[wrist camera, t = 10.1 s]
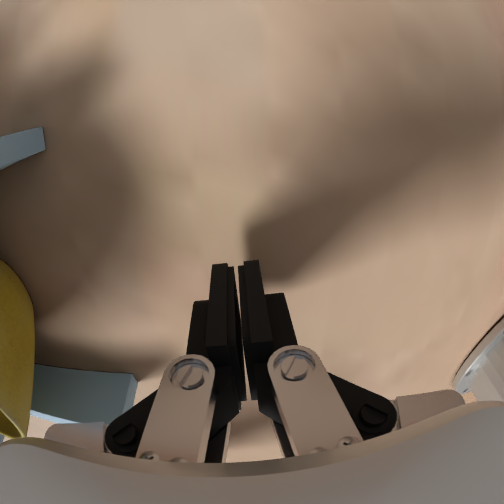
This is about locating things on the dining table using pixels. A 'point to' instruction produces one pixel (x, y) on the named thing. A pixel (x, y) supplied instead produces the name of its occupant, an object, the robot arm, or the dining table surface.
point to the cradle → (61, 379)
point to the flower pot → (15, 354)
